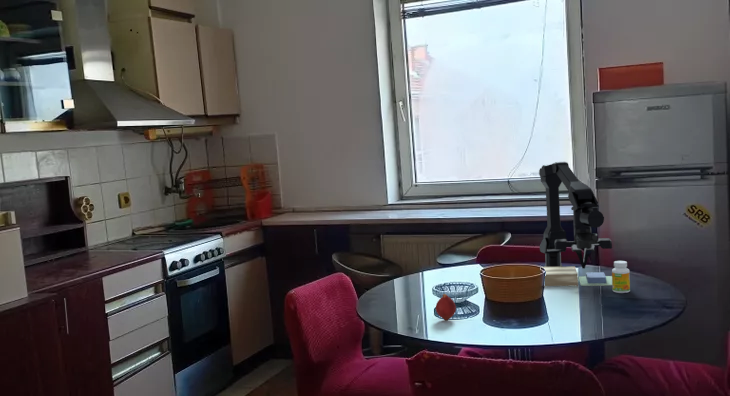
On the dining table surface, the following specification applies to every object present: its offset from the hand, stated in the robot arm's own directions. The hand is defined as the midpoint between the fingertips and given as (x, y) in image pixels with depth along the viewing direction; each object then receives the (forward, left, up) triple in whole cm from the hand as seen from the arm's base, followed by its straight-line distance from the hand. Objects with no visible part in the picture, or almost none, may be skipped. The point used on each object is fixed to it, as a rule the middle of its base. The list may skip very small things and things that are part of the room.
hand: (583, 268), depth 243 cm
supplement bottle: (+14, +11, -5) cm, 19 cm away
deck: (0, -8, -5) cm, 10 cm away
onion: (+48, -42, -5) cm, 65 cm away
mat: (0, +5, -5) cm, 7 cm away
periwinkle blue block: (0, +4, -2) cm, 5 cm away
